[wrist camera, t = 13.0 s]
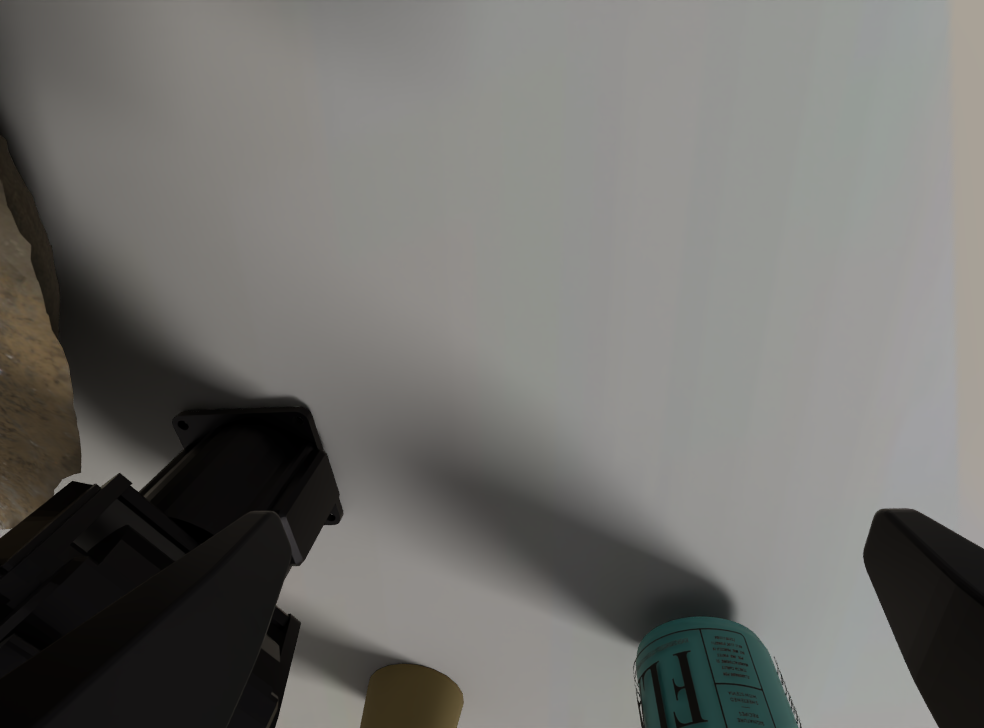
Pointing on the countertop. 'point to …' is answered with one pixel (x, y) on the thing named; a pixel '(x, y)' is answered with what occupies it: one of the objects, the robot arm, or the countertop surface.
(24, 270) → the stone bowl
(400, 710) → the cork
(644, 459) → the countertop surface
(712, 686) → the beverage bottle
